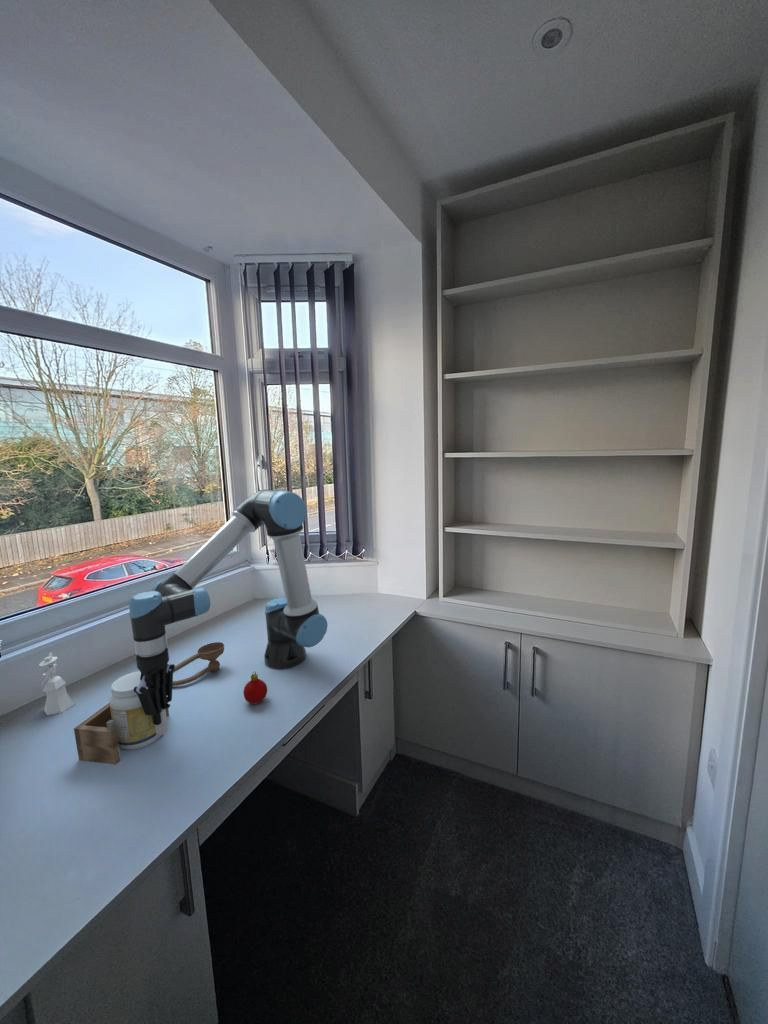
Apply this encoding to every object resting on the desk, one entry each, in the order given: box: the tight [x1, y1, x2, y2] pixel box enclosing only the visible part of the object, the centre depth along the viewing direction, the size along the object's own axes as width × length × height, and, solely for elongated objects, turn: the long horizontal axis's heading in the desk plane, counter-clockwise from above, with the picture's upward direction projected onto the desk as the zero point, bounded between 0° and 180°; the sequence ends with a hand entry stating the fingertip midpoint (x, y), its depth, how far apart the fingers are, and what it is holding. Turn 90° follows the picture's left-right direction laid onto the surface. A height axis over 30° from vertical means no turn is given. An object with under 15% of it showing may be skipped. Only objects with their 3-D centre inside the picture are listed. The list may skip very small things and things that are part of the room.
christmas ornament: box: [242, 671, 268, 705], centre depth 131 cm, size 7×7×10 cm
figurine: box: [38, 652, 75, 716], centre depth 131 cm, size 7×8×18 cm
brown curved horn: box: [172, 641, 225, 687], centre depth 152 cm, size 24×9×19 cm
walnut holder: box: [73, 702, 170, 766], centre depth 117 cm, size 11×20×11 cm, turn 170°
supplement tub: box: [108, 670, 163, 751], centre depth 116 cm, size 12×12×17 cm
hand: (162, 732), depth 115 cm, fingers closed
